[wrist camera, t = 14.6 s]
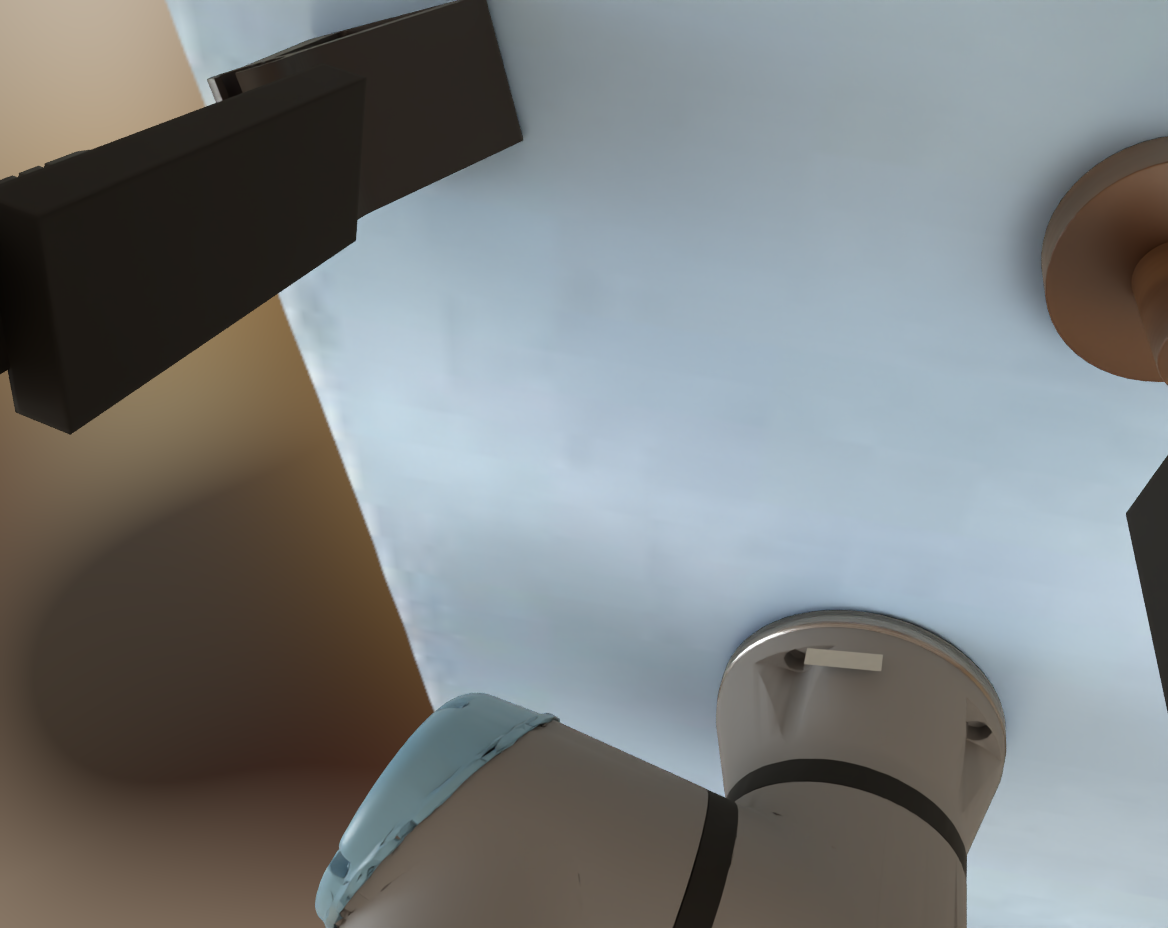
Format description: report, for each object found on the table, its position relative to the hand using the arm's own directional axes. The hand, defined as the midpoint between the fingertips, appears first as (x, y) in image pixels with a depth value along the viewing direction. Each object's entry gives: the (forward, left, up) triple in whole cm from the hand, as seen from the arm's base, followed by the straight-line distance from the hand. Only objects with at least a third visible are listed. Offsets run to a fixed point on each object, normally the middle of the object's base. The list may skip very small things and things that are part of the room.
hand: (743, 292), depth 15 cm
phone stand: (-8, +18, -27) cm, 33 cm away
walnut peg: (-5, -13, -27) cm, 30 cm away
